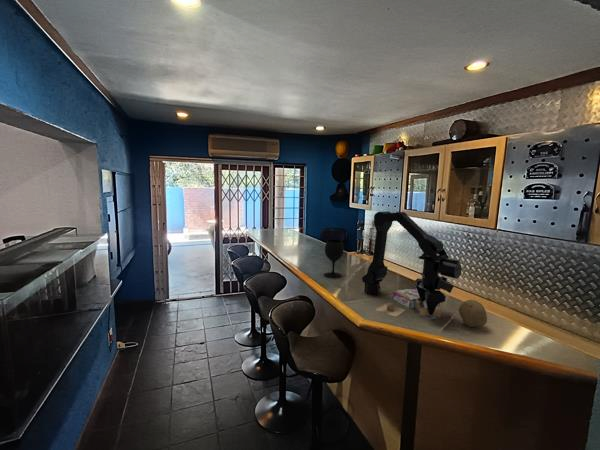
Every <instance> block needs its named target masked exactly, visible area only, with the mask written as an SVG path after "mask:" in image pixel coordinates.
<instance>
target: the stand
mask: <svg viewBox="0 0 600 450" xmlns="http://www.w3.org/2000/svg"><path fill="white" fill-rule="evenodd" d="M374 311H377V312H380V313H383V314H386V315H390V316H393V317H398V316H400V315H401V314H402V313H403V312H405V311H406V309H404V308H401V307H397V306H395V304H394V303H392V302H388V303H384V304H382V305H380V306H379V307H377V308H376V309H374Z"/></svg>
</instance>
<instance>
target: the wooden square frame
mask: <svg viewBox="0 0 600 450" xmlns="http://www.w3.org/2000/svg"><path fill="white" fill-rule="evenodd" d="M423 302H424V301H415V308H416V310H417V311H418V313H419V314H420V315H422V316H436V317H440V314H441V311H442V309H441V308H440V307H439V305H437V307H436V309H435V311H434V313H433V315H429V312H428V308H427V307H423ZM440 318H441V317H440Z"/></svg>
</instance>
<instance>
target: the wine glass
mask: <svg viewBox="0 0 600 450" xmlns="http://www.w3.org/2000/svg"><path fill="white" fill-rule="evenodd" d="M324 253H325V255H326V258H327V259H328V260H329V261H331V263H332V267H331V268H332V270H331V272H324V274H323V276H324V277H325V278H329V279H341V278H343V274H341V273H338V272H335V263H336V262H338V261H339V260H340V259H341V258H342V256H343V254H344V242H343V240H339V239H327V240H326V242H325V246H324Z"/></svg>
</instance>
